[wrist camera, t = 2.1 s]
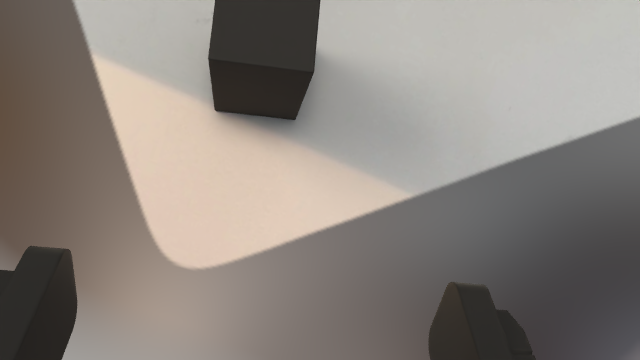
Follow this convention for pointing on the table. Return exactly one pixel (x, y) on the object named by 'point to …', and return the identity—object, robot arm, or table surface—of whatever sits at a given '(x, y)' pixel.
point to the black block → (262, 55)
